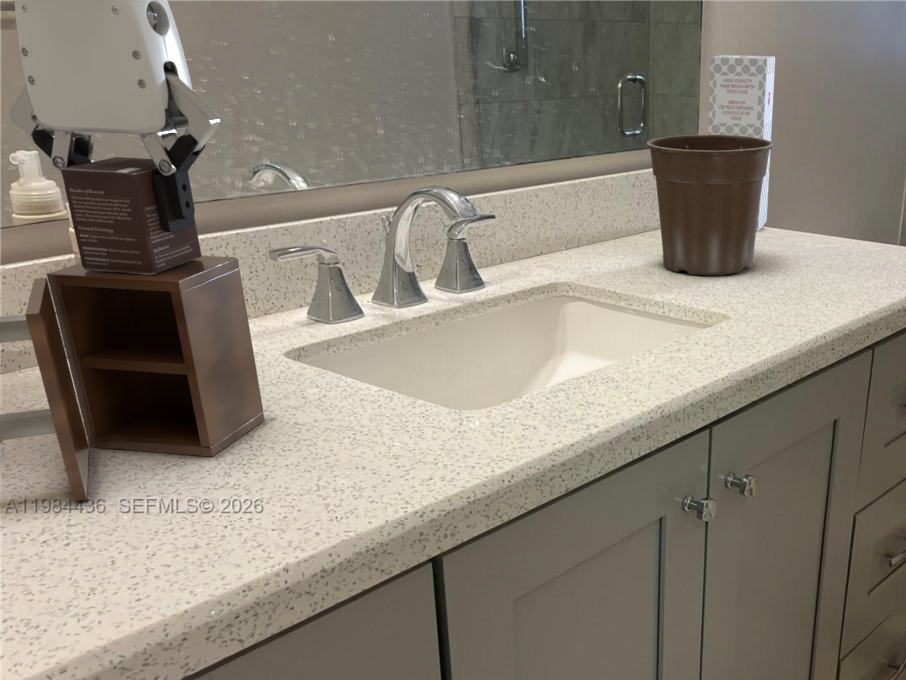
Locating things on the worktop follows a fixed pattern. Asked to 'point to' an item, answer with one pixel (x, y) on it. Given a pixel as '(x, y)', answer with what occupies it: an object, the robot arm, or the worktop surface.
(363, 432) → the worktop surface
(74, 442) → the door
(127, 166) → the box
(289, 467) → the worktop surface
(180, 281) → the cabinet
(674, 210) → the plant pot
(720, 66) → the box
